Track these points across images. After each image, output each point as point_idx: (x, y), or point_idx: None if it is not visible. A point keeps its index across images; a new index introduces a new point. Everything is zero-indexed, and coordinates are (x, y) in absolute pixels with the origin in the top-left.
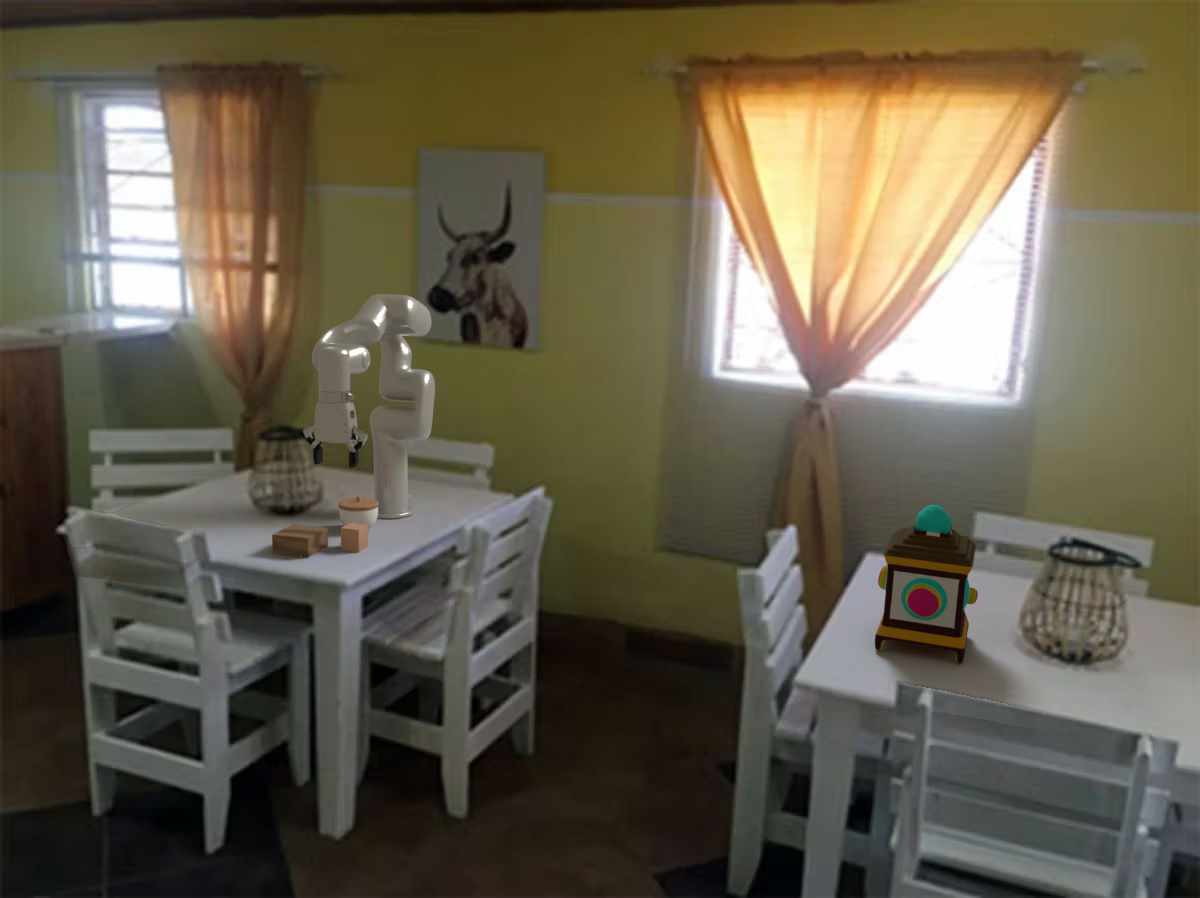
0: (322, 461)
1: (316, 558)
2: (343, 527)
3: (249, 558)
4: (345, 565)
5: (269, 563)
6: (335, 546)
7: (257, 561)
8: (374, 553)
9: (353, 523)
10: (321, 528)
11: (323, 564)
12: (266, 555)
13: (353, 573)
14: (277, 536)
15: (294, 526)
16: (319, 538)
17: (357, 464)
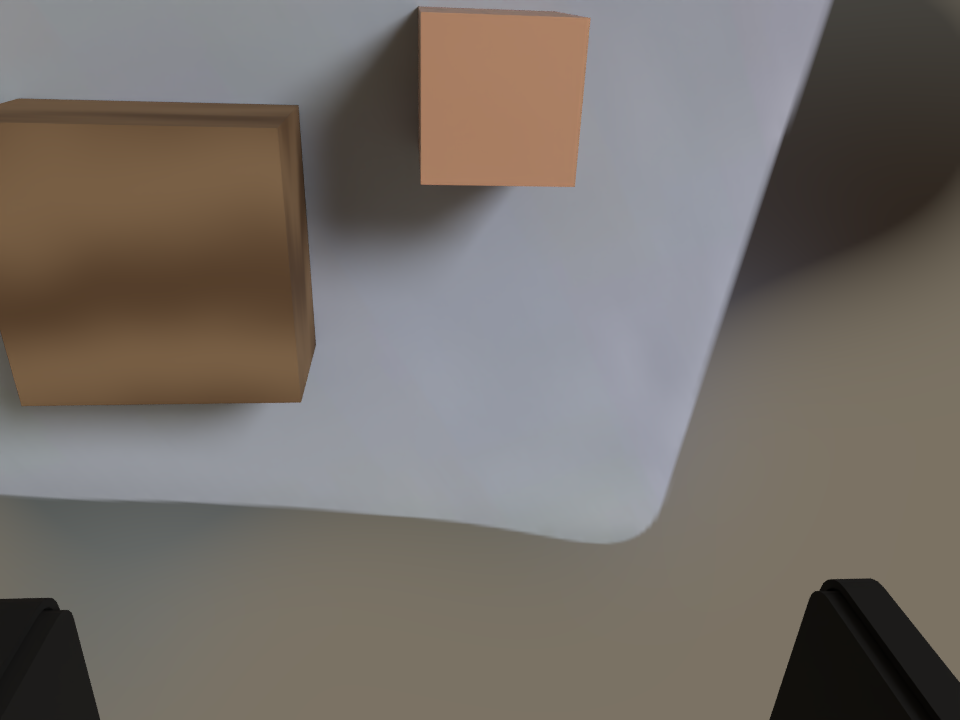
0: (64, 626)
1: (362, 336)
2: (433, 162)
3: (26, 449)
4: (566, 384)
5: (184, 478)
6: (339, 79)
7: (104, 473)
8: (646, 139)
9: (456, 18)
10: (238, 156)
11: (451, 406)
12: None
13: (649, 467)
14: (70, 401)
15: (3, 177)
16: (295, 245)
17: (880, 588)
